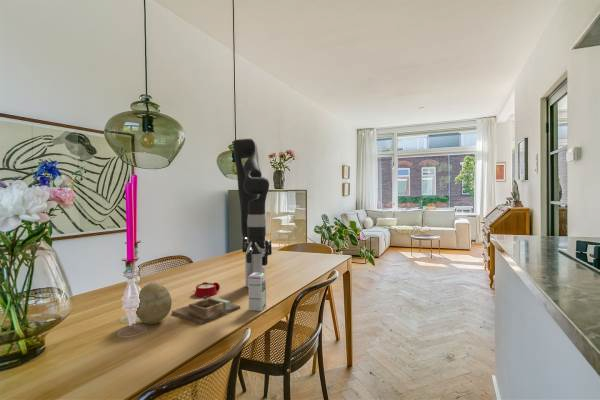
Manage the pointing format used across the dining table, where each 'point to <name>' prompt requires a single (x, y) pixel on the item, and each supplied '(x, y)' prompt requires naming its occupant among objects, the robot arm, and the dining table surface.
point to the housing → (204, 310)
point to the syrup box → (257, 291)
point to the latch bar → (227, 303)
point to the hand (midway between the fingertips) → (256, 264)
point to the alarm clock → (207, 289)
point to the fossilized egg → (153, 303)
